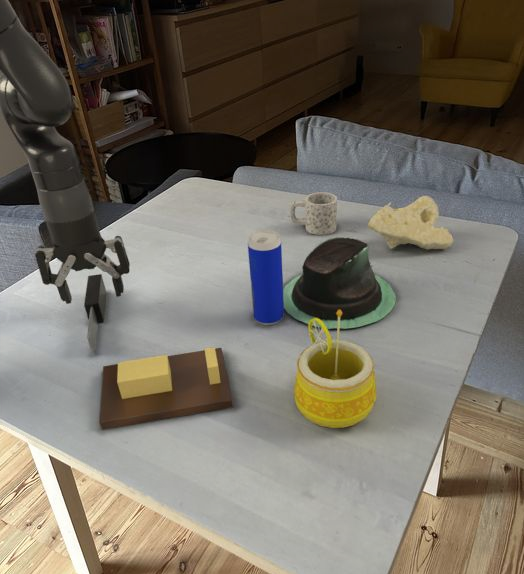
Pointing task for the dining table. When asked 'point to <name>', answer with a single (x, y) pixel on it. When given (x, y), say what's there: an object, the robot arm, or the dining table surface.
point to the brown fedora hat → (339, 286)
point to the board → (167, 393)
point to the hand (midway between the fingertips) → (94, 297)
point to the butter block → (144, 376)
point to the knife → (94, 307)
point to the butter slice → (212, 365)
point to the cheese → (412, 225)
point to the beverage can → (266, 276)
